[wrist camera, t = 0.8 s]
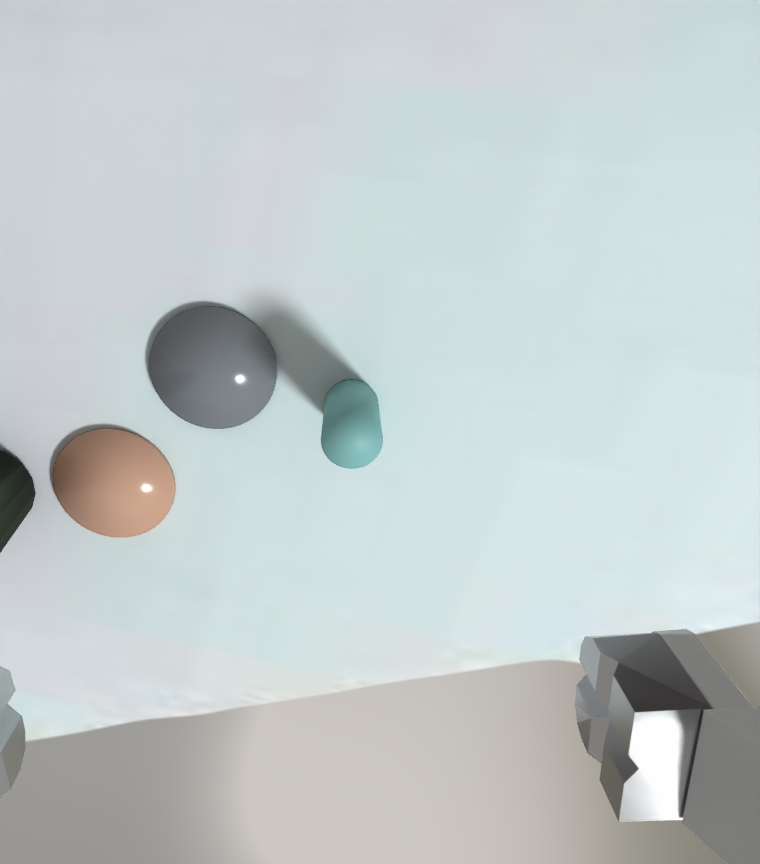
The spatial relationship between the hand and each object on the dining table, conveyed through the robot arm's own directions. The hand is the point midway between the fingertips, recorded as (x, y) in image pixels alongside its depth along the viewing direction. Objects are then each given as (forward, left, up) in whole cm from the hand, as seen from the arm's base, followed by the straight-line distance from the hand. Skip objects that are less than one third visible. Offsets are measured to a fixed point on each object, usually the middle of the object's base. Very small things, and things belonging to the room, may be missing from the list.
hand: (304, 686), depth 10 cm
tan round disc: (+20, +11, -40) cm, 46 cm away
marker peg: (+1, +9, -40) cm, 41 cm away
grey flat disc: (+10, +4, -40) cm, 42 cm away
